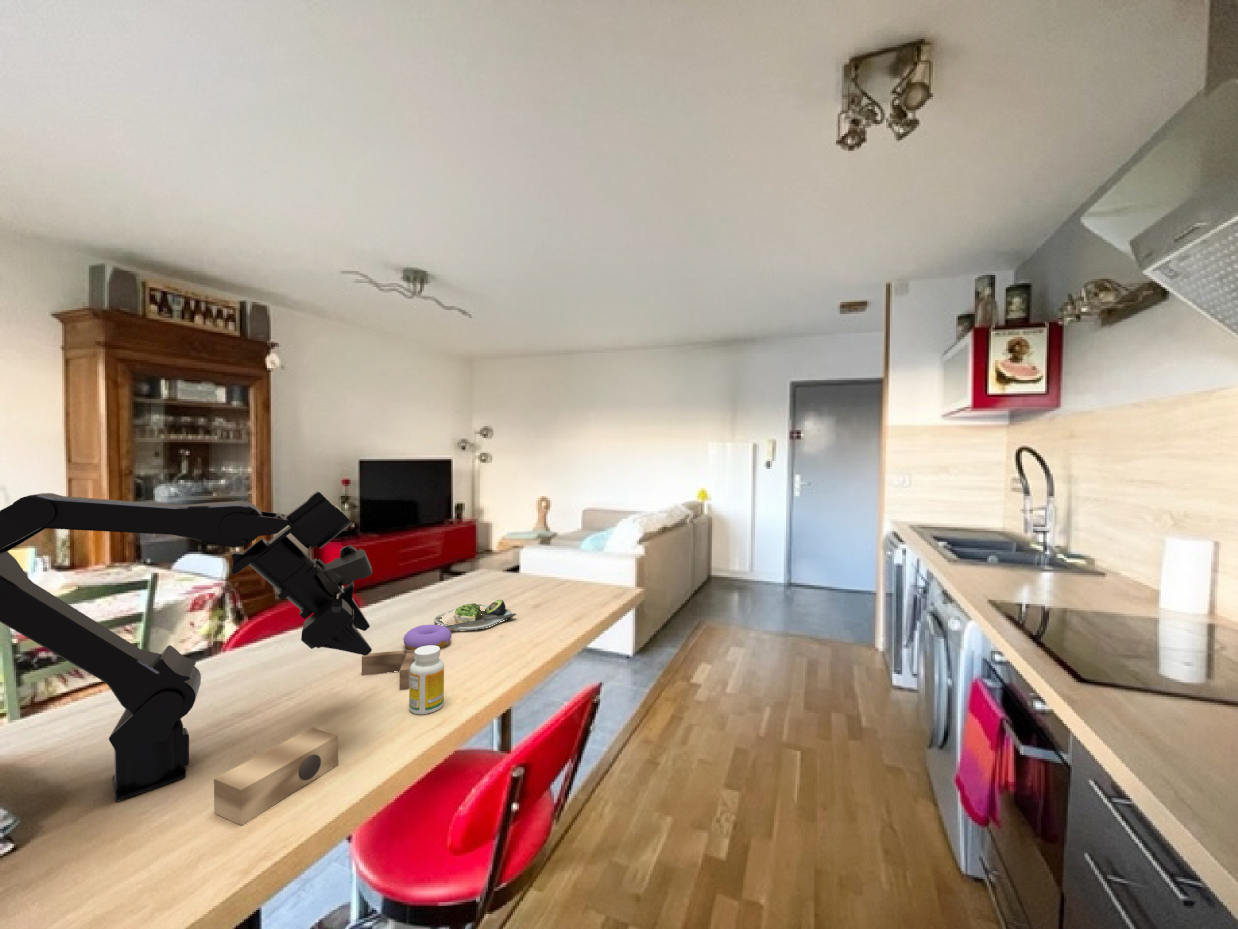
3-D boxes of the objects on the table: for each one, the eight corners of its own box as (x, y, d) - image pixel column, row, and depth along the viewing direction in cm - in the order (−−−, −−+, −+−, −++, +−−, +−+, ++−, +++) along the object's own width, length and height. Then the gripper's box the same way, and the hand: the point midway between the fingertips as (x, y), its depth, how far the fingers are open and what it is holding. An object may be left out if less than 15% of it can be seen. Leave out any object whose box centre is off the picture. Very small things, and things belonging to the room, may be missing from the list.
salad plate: (469, 642, 113) (470, 622, 113) (414, 629, 121) (414, 610, 121) (524, 618, 130) (524, 600, 130) (472, 608, 138) (472, 591, 138)
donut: (394, 652, 105) (396, 628, 106) (413, 645, 114) (415, 623, 115) (441, 653, 105) (443, 629, 106) (456, 646, 114) (458, 624, 115)
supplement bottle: (404, 716, 80) (404, 656, 80) (415, 700, 85) (415, 644, 85) (439, 714, 80) (439, 655, 80) (447, 698, 86) (447, 643, 86)
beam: (242, 826, 56) (242, 790, 56) (214, 813, 58) (214, 778, 58) (339, 765, 67) (339, 735, 67) (312, 756, 69) (312, 727, 69)
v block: (403, 691, 88) (403, 671, 88) (358, 674, 95) (358, 655, 95) (440, 674, 95) (440, 656, 95) (395, 659, 102) (395, 642, 102)
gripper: (339, 549, 67) (418, 625, 72) (341, 521, 83) (405, 585, 89) (262, 609, 63) (351, 684, 69) (280, 568, 80) (351, 631, 85)
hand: (368, 640), depth 78 cm, fingers open, 9 cm apart
